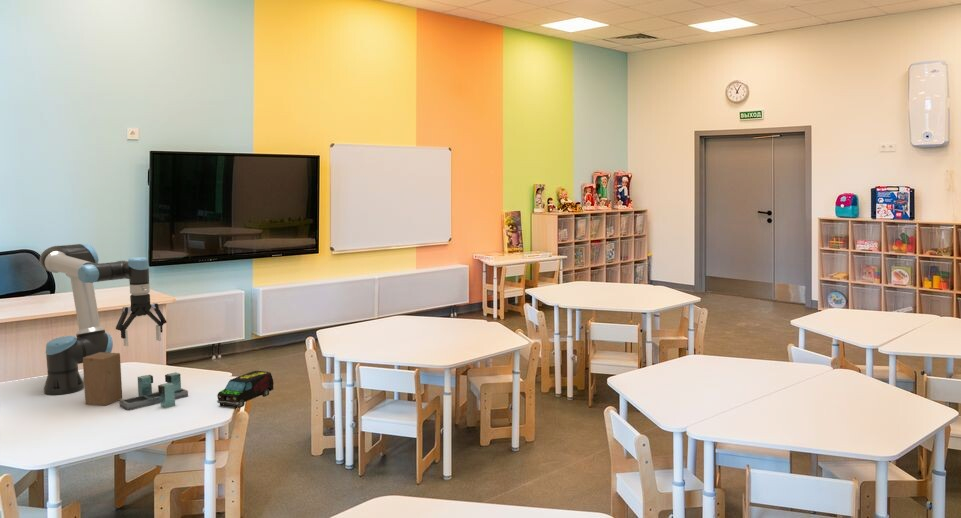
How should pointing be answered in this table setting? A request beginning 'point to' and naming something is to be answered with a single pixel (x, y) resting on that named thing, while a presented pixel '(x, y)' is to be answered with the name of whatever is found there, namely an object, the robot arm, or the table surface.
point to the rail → (155, 394)
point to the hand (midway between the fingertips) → (142, 343)
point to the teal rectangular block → (145, 385)
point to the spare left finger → (167, 394)
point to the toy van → (246, 388)
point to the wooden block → (102, 378)
